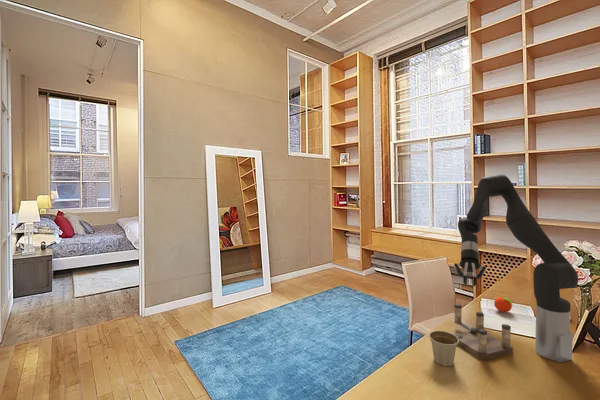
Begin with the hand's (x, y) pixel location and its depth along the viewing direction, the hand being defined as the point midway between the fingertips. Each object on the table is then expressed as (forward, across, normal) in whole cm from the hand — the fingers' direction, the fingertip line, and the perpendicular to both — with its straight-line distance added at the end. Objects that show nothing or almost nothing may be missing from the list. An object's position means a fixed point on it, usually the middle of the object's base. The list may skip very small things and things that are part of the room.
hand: (470, 285), depth 136 cm
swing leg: (+21, -2, -3) cm, 21 cm away
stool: (+29, +3, -8) cm, 30 cm away
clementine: (+2, +14, +20) cm, 24 cm away
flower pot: (+40, -9, -19) cm, 45 cm away
